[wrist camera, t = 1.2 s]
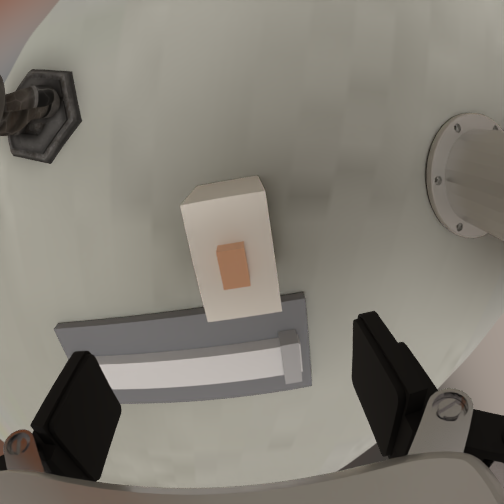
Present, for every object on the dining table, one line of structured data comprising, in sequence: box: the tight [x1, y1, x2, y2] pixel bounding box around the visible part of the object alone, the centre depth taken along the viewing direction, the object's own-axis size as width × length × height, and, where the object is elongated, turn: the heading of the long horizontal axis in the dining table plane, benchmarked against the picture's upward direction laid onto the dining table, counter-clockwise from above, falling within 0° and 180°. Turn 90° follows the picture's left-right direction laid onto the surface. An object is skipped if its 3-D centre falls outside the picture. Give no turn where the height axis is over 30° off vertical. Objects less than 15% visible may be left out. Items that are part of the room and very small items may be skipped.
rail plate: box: [54, 292, 312, 404], centre depth 30 cm, size 26×11×3 cm, turn 99°
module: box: [180, 175, 282, 322], centre depth 23 cm, size 5×8×9 cm, turn 9°
